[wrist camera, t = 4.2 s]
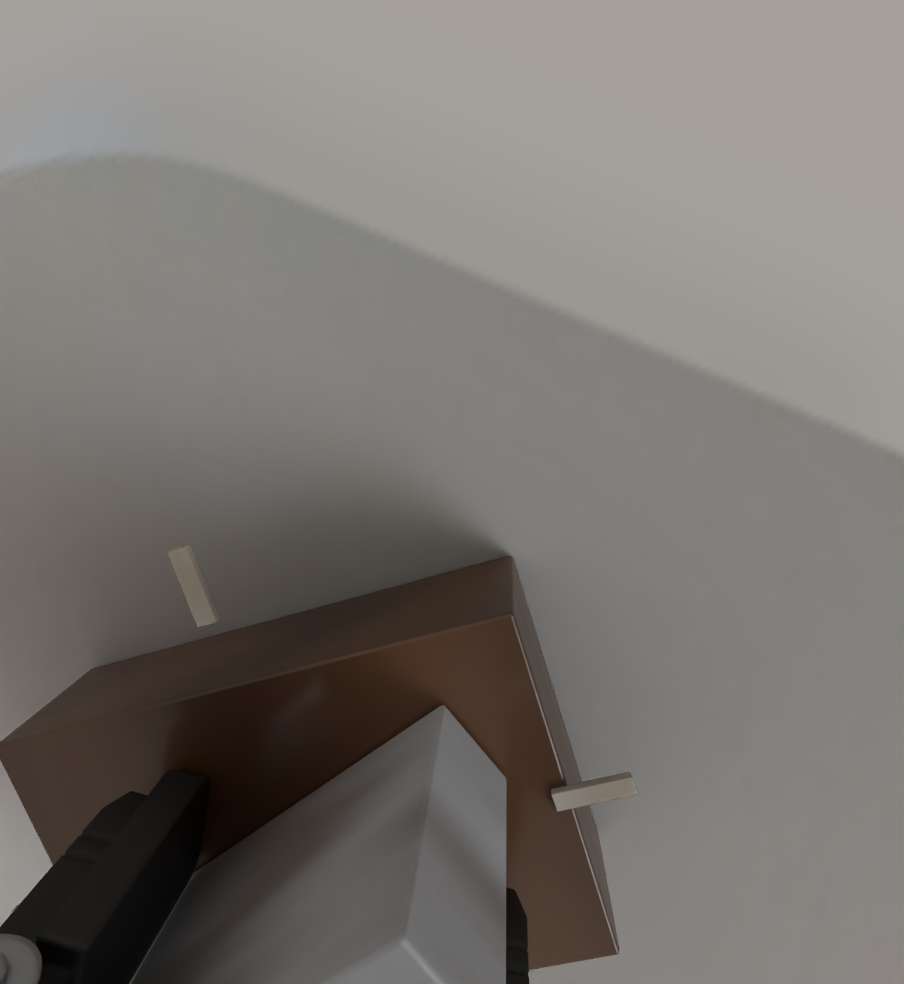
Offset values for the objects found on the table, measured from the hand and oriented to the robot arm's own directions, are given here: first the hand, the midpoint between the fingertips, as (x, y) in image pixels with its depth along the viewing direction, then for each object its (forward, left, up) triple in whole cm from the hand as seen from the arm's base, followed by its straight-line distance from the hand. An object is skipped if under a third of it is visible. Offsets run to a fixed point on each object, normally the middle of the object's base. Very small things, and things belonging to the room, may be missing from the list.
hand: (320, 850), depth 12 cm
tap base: (0, 0, -3) cm, 3 cm away
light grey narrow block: (0, 0, 0) cm, 0 cm away
